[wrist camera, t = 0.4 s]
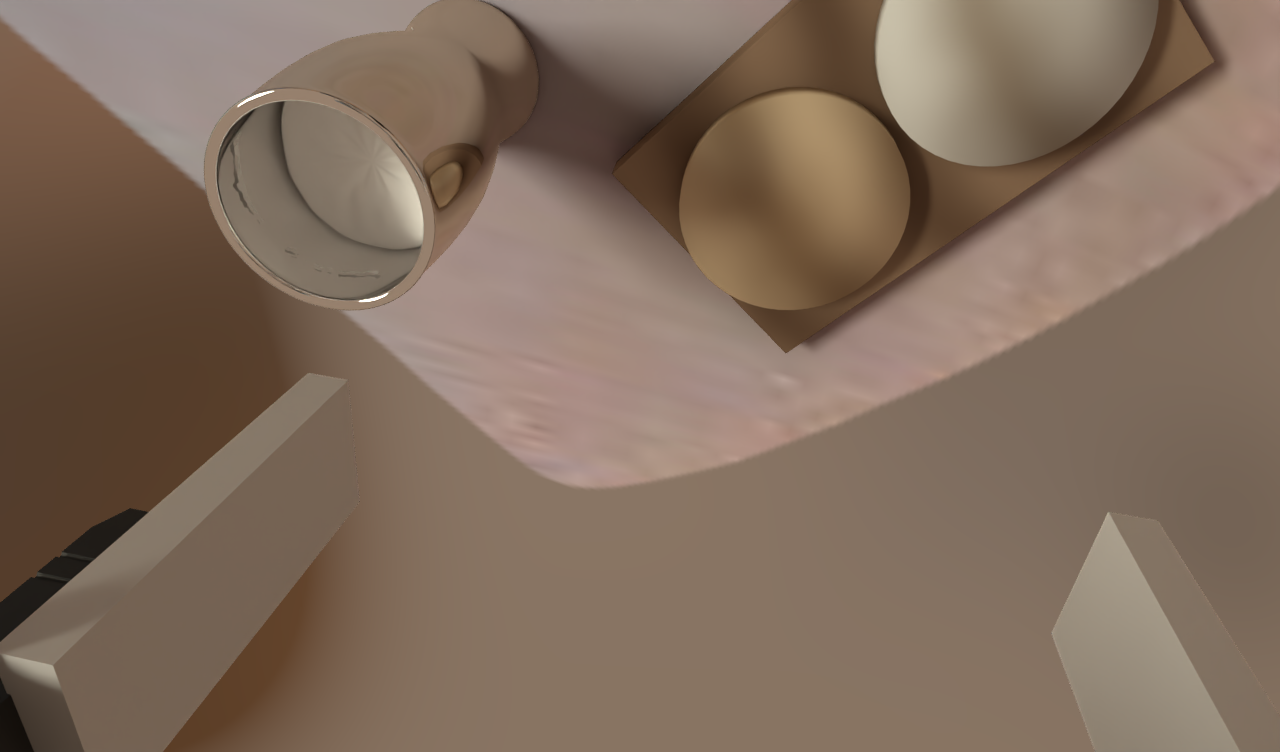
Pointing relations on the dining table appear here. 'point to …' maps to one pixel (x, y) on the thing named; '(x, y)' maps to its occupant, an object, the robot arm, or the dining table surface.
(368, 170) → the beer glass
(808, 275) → the board
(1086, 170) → the dining table surface
